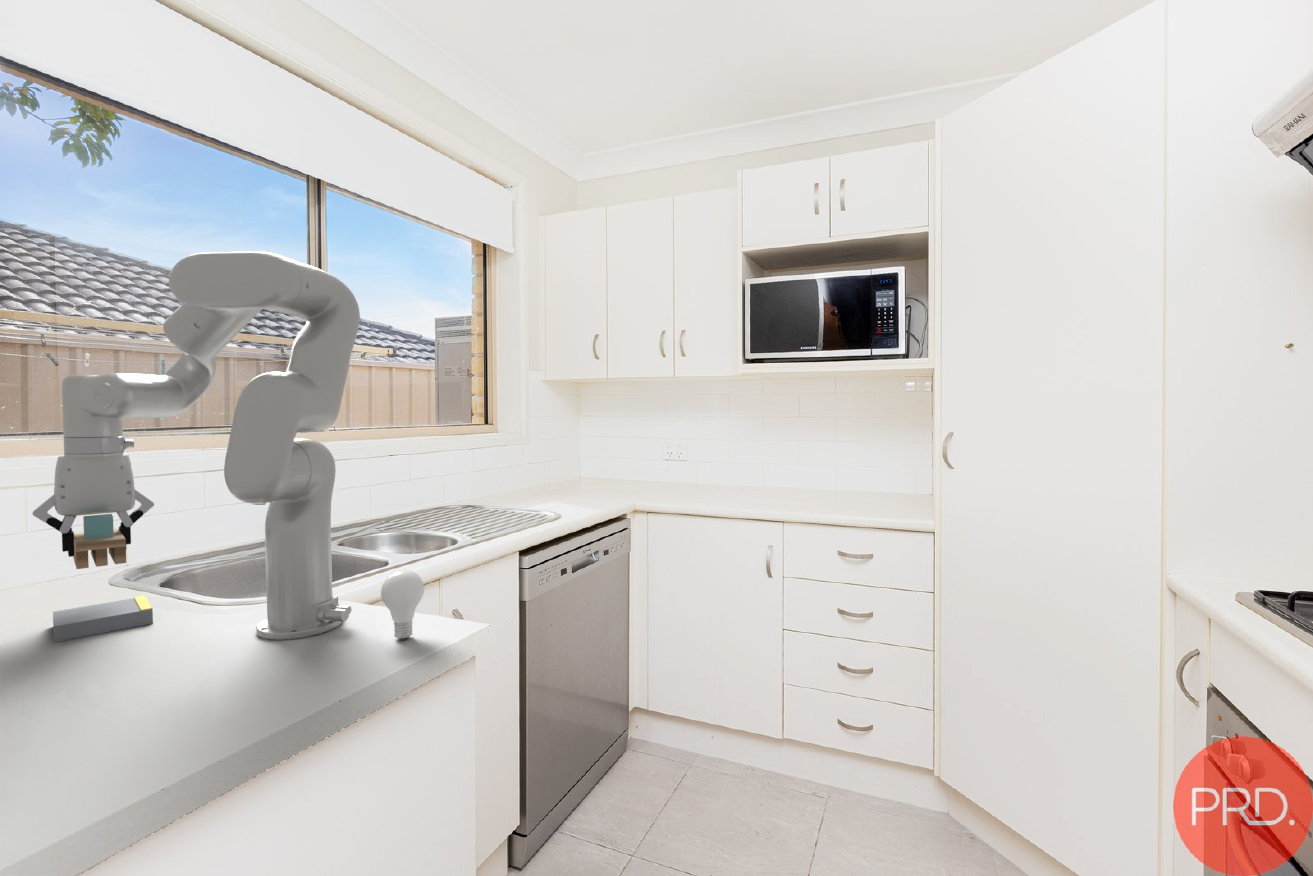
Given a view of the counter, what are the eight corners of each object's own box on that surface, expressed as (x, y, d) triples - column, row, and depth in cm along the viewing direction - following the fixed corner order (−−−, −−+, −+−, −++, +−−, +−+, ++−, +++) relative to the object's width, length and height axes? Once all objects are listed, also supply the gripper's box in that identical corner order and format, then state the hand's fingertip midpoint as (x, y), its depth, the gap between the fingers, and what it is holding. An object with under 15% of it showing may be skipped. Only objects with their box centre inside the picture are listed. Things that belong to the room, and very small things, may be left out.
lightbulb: (433, 635, 100) (432, 568, 100) (402, 649, 94) (401, 577, 94) (404, 629, 103) (403, 563, 102) (372, 642, 97) (371, 573, 96)
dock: (153, 623, 106) (152, 607, 106) (55, 642, 97) (54, 625, 97) (145, 610, 113) (144, 595, 113) (53, 626, 104) (52, 610, 104)
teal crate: (113, 537, 103) (113, 516, 103) (85, 540, 101) (84, 518, 101) (111, 534, 106) (111, 513, 106) (83, 537, 103) (83, 516, 103)
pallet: (126, 562, 102) (125, 538, 102) (76, 569, 98) (75, 544, 98) (119, 550, 111) (118, 528, 111) (73, 556, 106) (72, 533, 106)
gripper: (155, 444, 114) (158, 541, 115) (22, 448, 102) (26, 556, 103) (161, 446, 109) (164, 548, 110) (21, 450, 97) (26, 564, 98)
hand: (97, 551), depth 106 cm, fingers closed on pallet, 6 cm apart
